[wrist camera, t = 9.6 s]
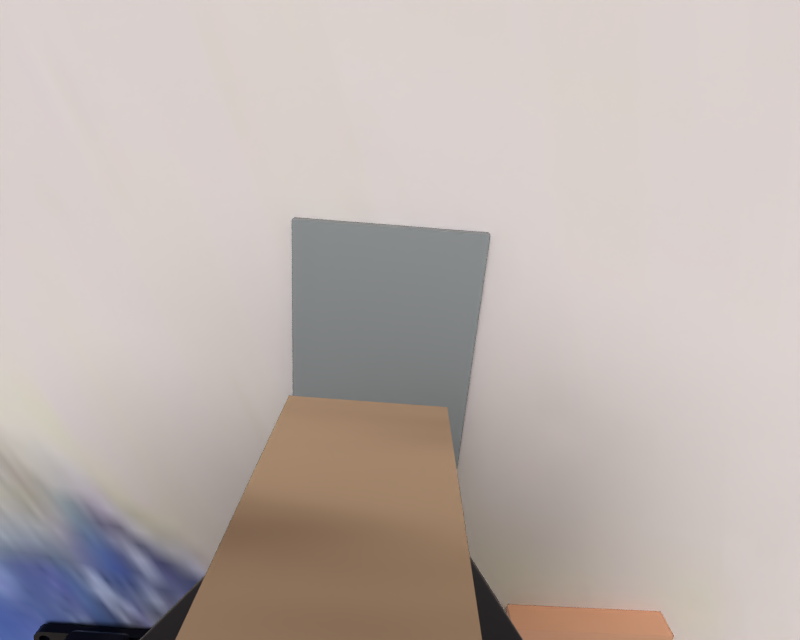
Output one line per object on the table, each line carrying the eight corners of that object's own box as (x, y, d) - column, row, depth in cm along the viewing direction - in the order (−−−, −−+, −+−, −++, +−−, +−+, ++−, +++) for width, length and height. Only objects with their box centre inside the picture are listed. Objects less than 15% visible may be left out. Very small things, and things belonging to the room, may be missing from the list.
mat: (438, 587, 22) (438, 595, 21) (295, 577, 21) (294, 585, 21) (488, 232, 16) (490, 235, 15) (294, 217, 16) (291, 219, 15)
